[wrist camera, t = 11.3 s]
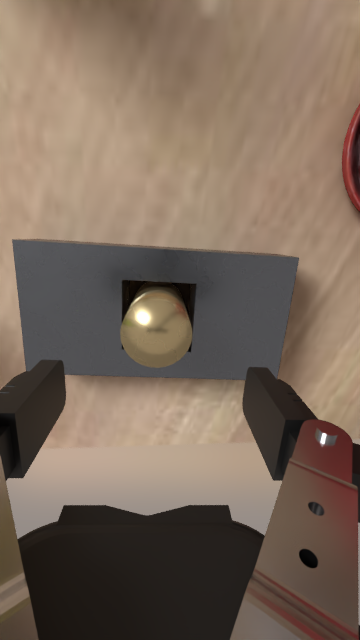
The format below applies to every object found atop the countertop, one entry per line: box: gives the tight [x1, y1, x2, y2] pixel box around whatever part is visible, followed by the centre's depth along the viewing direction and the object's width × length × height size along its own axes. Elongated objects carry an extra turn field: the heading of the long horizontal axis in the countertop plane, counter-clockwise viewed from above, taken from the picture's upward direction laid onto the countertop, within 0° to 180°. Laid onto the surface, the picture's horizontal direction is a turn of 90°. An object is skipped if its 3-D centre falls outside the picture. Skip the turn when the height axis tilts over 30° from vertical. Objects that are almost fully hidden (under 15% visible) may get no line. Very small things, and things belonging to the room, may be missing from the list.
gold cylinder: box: [120, 281, 192, 368], centre depth 21 cm, size 4×4×8 cm
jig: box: [12, 239, 299, 380], centre depth 23 cm, size 20×10×4 cm, turn 86°
